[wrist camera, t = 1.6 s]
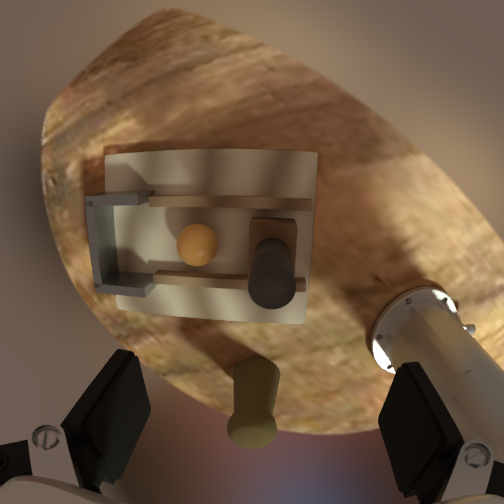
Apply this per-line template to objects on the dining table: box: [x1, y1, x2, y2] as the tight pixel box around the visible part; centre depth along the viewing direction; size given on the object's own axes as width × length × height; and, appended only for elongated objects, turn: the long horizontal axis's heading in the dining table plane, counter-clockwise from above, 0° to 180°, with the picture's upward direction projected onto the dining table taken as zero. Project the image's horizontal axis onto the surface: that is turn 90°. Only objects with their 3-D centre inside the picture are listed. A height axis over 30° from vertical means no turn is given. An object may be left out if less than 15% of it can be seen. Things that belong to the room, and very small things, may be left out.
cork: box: [227, 357, 280, 449], centre depth 30 cm, size 6×6×11 cm
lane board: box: [105, 149, 318, 324], centre depth 29 cm, size 22×18×3 cm
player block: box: [248, 217, 298, 309], centre depth 24 cm, size 4×5×11 cm
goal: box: [85, 190, 158, 298], centre depth 28 cm, size 6×10×4 cm, turn 178°
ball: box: [176, 224, 218, 266], centre depth 28 cm, size 4×4×4 cm
